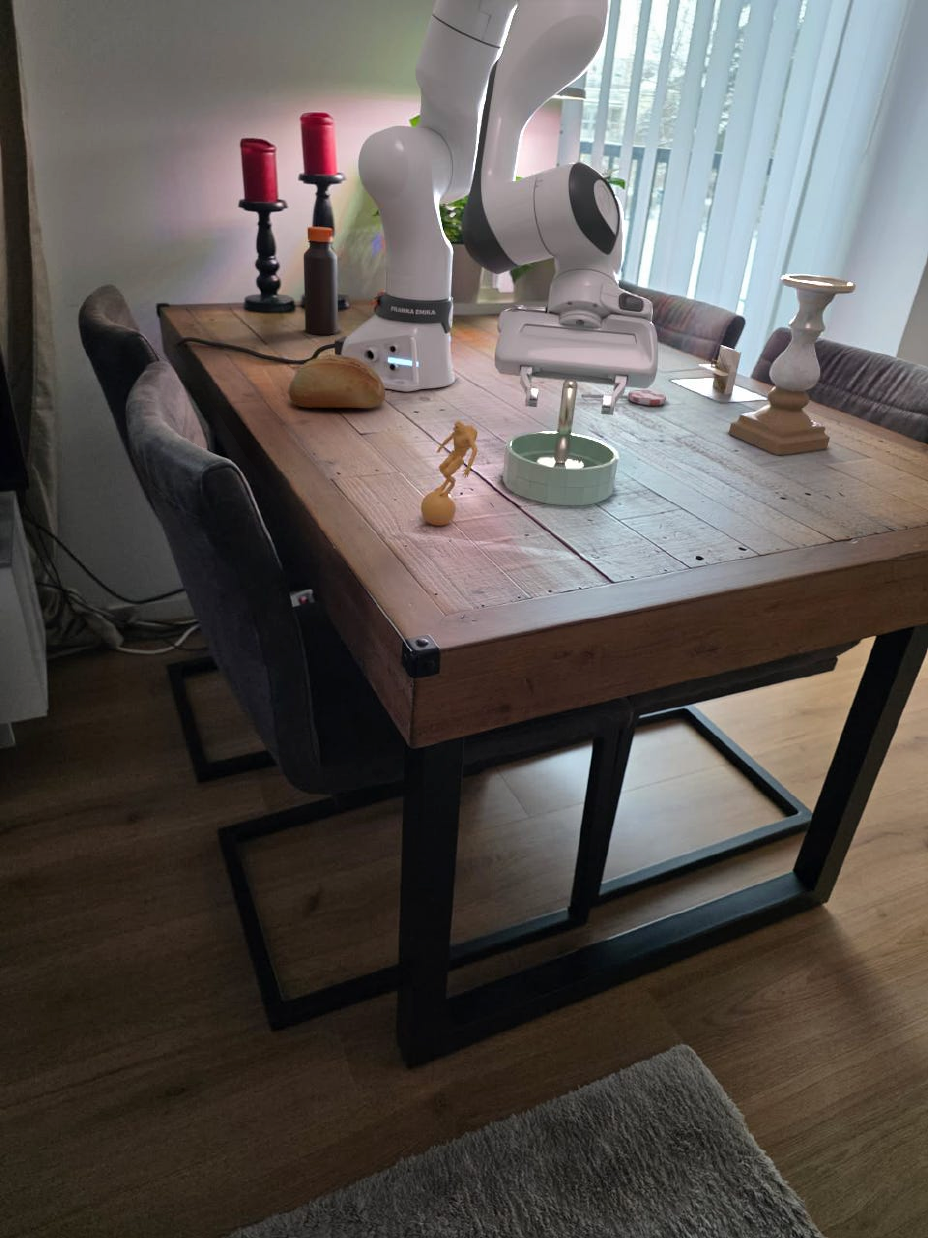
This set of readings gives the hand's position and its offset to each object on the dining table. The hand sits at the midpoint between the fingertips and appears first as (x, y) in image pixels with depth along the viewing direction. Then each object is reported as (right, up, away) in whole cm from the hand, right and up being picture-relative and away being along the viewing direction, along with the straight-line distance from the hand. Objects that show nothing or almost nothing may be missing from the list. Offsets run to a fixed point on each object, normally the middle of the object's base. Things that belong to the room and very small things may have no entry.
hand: (569, 408), depth 105 cm
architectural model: (+35, +17, +55) cm, 67 cm away
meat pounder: (-1, -8, +6) cm, 10 cm away
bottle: (-43, +34, +75) cm, 93 cm away
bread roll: (-33, +7, +29) cm, 44 cm away
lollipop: (+15, +12, +44) cm, 48 cm away
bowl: (-1, -9, +6) cm, 10 cm away
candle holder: (+36, +2, +29) cm, 47 cm away
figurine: (-15, -15, -7) cm, 22 cm away
